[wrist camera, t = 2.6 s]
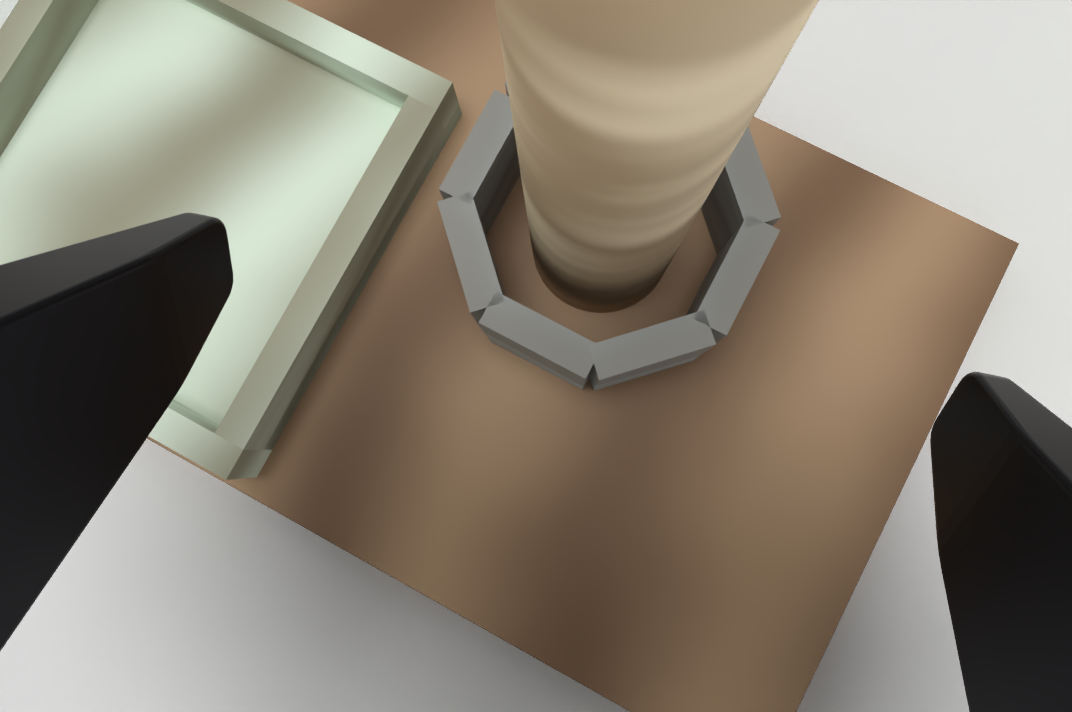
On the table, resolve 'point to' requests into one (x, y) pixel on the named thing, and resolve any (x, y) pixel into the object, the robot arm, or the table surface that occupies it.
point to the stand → (507, 333)
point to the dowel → (630, 126)
